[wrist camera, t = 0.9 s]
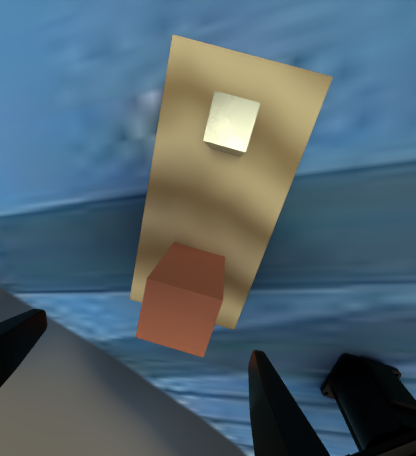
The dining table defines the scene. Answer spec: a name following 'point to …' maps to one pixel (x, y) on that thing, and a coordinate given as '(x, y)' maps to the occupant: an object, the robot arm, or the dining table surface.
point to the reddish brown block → (182, 299)
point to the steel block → (230, 123)
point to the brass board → (224, 163)
